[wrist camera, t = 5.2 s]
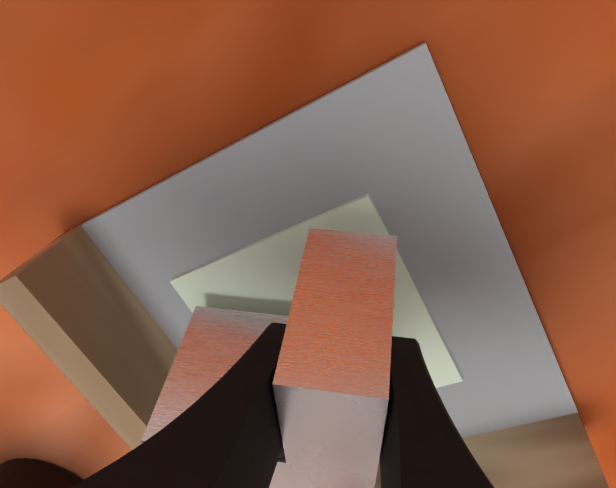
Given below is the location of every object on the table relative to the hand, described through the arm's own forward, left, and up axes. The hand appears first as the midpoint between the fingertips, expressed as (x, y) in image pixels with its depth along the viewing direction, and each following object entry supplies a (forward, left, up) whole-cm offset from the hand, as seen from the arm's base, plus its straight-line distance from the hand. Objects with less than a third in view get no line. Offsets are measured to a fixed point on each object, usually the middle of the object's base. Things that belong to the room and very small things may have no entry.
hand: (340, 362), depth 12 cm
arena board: (-2, -2, -4) cm, 5 cm away
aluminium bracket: (-2, +1, -3) cm, 3 cm away
